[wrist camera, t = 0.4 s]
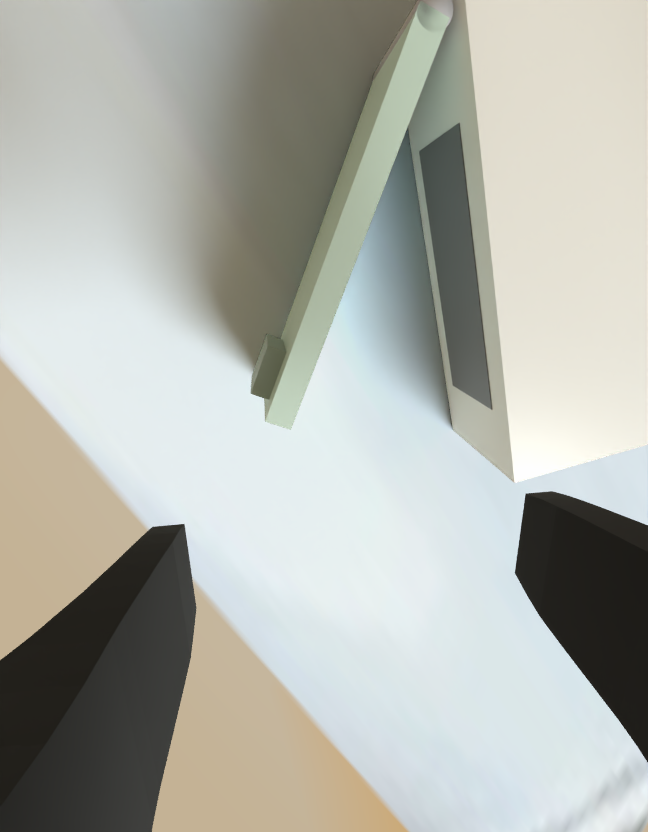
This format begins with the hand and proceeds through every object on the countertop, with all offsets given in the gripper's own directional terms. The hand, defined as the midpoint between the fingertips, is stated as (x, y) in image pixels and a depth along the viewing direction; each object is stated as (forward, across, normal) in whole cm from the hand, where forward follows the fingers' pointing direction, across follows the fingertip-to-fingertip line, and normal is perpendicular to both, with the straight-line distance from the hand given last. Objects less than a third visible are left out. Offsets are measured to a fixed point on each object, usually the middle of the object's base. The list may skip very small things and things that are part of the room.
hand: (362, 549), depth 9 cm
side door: (+9, 0, -7) cm, 11 cm away
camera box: (+10, -9, -7) cm, 15 cm away
